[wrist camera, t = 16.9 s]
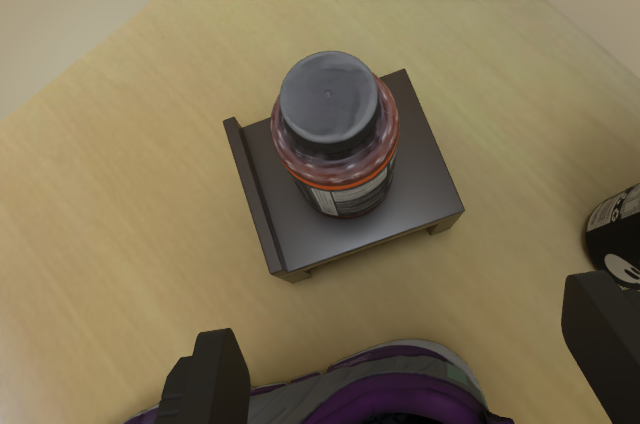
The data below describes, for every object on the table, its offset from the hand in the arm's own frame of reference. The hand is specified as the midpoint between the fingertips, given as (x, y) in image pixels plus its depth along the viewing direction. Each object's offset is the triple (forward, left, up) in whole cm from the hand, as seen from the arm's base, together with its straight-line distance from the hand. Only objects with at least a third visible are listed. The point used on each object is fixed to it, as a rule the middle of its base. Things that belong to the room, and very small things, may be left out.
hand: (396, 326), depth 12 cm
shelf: (-1, -9, -23) cm, 25 cm away
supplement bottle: (-1, -9, -17) cm, 19 cm away
